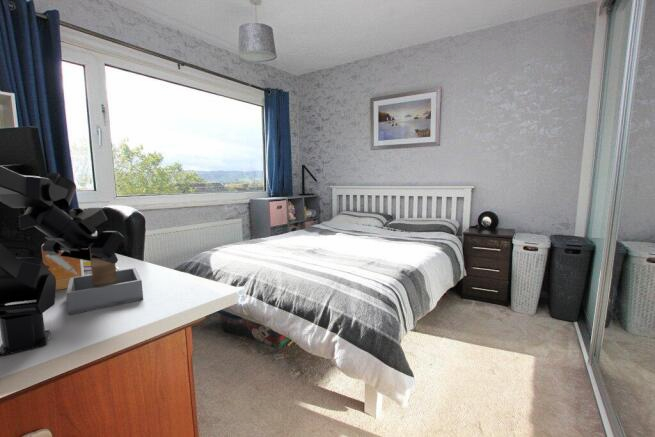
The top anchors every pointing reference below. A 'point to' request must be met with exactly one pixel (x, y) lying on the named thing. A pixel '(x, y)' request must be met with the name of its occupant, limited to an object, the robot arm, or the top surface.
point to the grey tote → (103, 292)
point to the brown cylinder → (102, 272)
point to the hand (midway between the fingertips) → (108, 261)
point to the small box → (63, 268)
